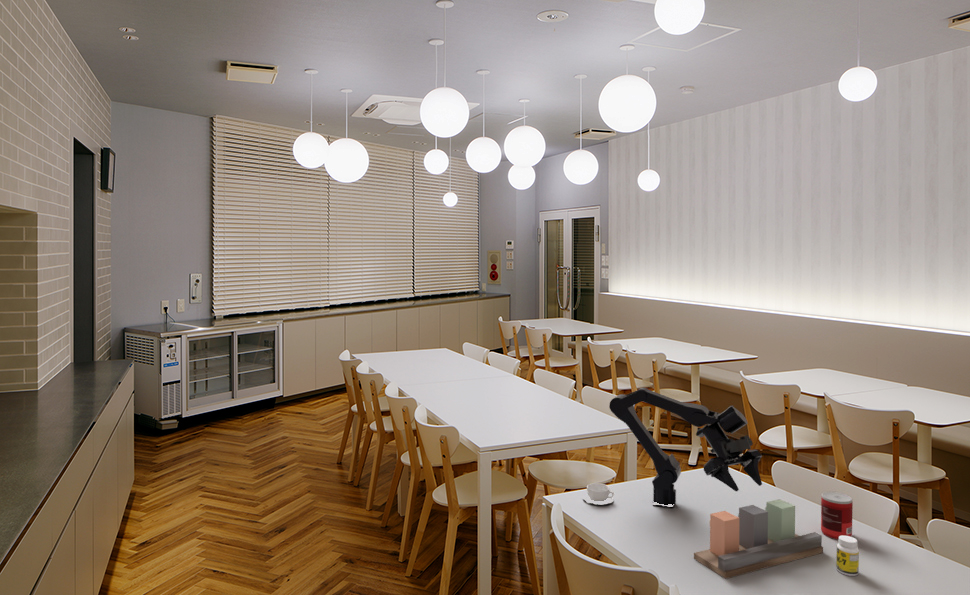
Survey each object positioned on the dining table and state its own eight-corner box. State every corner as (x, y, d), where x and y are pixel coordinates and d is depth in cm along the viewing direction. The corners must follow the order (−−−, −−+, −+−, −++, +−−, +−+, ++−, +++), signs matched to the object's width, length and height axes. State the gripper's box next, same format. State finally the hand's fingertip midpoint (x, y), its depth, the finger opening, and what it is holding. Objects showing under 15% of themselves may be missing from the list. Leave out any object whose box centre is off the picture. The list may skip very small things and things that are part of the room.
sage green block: (763, 535, 162) (763, 500, 162) (776, 532, 164) (776, 497, 163) (781, 545, 156) (781, 508, 156) (794, 541, 158) (795, 505, 158)
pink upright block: (707, 549, 154) (707, 512, 154) (721, 545, 156) (721, 509, 156) (724, 559, 149) (724, 521, 148) (739, 555, 151) (739, 517, 150)
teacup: (580, 504, 190) (579, 490, 190) (586, 493, 199) (586, 480, 199) (610, 508, 186) (610, 494, 186) (616, 497, 195) (616, 484, 195)
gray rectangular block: (735, 542, 158) (736, 506, 158) (749, 539, 160) (749, 503, 160) (753, 552, 153) (753, 514, 152) (767, 548, 155) (768, 511, 154)
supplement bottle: (831, 567, 148) (832, 534, 147) (849, 566, 148) (849, 534, 148) (845, 577, 143) (845, 543, 143) (863, 576, 143) (863, 542, 143)
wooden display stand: (693, 558, 153) (693, 541, 153) (787, 535, 166) (788, 520, 165) (725, 578, 143) (725, 560, 142) (823, 552, 155) (823, 535, 155)
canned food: (847, 530, 169) (848, 492, 168) (855, 542, 161) (856, 503, 161) (818, 526, 171) (818, 490, 171) (824, 538, 164) (824, 500, 163)
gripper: (709, 431, 170) (740, 479, 161) (755, 423, 178) (788, 468, 168) (690, 451, 178) (719, 498, 168) (736, 442, 185) (766, 487, 175)
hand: (749, 487), depth 170 cm, fingers open, 9 cm apart
